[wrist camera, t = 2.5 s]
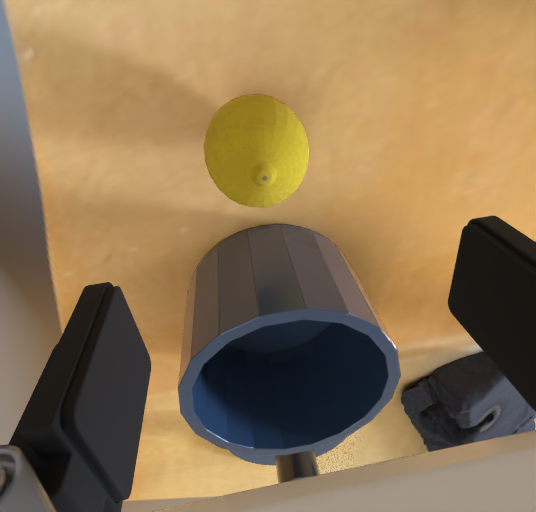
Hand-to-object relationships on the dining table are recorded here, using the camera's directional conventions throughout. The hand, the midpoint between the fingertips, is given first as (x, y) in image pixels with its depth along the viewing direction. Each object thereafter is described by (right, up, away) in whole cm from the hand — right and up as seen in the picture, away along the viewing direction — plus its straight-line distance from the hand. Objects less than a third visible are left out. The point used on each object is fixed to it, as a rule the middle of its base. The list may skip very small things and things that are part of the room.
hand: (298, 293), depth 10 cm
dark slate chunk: (+24, -17, +34) cm, 45 cm away
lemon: (-2, +9, +13) cm, 16 cm away
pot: (0, -2, +20) cm, 20 cm away
